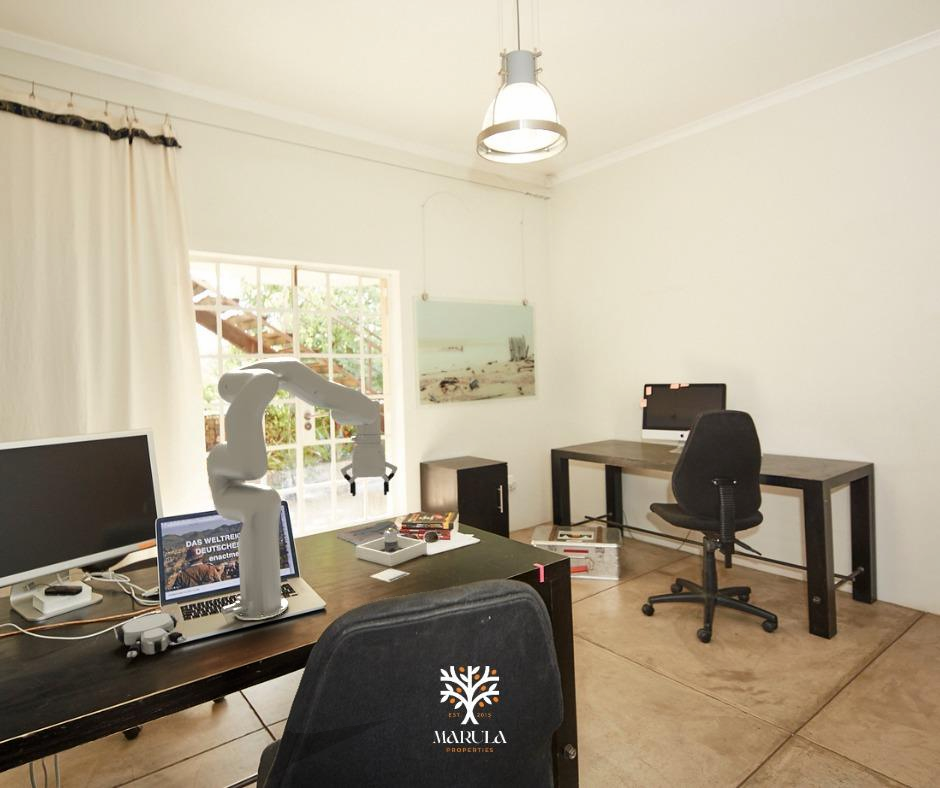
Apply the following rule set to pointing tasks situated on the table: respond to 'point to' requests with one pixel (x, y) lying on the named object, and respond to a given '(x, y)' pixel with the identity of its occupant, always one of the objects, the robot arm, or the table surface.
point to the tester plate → (390, 575)
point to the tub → (374, 555)
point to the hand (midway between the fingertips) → (369, 495)
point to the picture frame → (367, 532)
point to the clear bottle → (391, 540)
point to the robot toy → (149, 633)
